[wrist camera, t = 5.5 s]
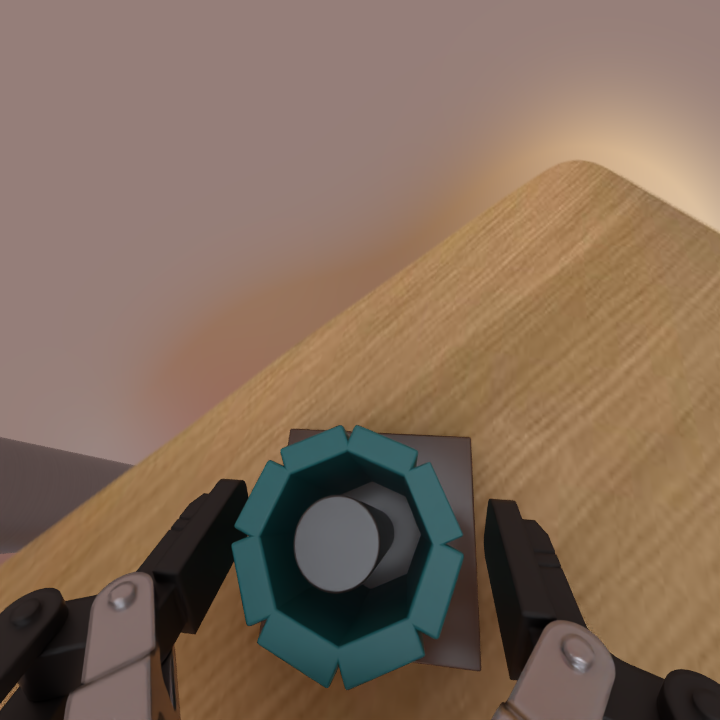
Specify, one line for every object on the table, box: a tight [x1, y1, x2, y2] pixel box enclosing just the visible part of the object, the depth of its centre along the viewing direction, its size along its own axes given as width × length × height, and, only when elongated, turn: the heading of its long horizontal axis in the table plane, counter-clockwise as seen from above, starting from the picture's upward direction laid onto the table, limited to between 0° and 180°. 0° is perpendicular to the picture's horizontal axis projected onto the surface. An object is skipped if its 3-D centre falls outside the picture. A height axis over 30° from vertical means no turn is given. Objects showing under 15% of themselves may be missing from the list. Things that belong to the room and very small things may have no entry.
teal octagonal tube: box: [232, 425, 464, 690], centre depth 13 cm, size 6×6×8 cm
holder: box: [259, 429, 481, 671], centre depth 13 cm, size 9×9×10 cm
